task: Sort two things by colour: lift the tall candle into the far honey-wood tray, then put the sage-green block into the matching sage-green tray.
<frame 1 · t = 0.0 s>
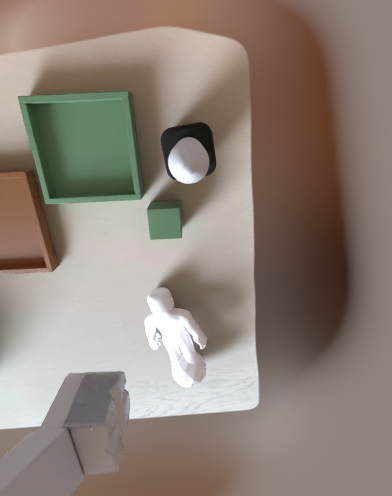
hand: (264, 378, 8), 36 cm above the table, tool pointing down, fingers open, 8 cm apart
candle: (189, 145, 40), on the table
figure: (177, 328, 52), on the table
green block: (166, 215, 43), on the table
green tray: (90, 150, 40), on the table
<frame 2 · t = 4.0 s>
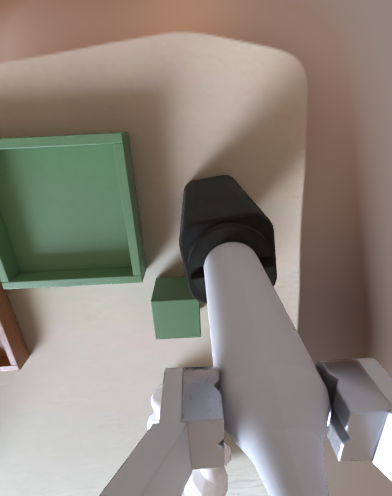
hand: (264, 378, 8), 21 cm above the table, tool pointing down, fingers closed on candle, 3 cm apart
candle: (212, 203, 27), on the table, touching gripper
figure: (189, 425, 40), on the table
green block: (178, 294, 31), on the table
green tray: (67, 211, 27), on the table
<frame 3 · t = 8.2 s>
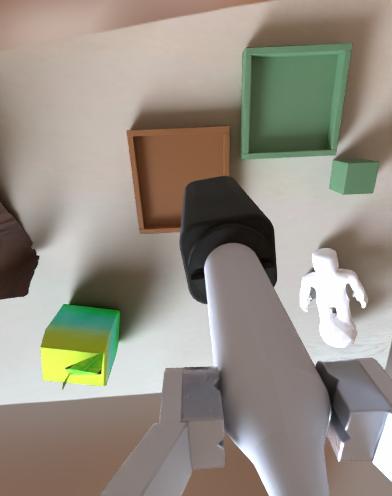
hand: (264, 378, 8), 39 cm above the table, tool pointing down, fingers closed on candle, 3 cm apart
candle: (212, 204, 27), point 18 cm above the table, touching gripper
wood tray: (181, 181, 45), on the table
figure: (325, 291, 54), on the table
low-poly cube fruit: (94, 323, 55), on the table
green block: (345, 173, 45), on the table
green tray: (288, 106, 41), on the table
when the fingers open (21 cm above the table, at t = 12.6 s): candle stays where it is, resting on wood tray.
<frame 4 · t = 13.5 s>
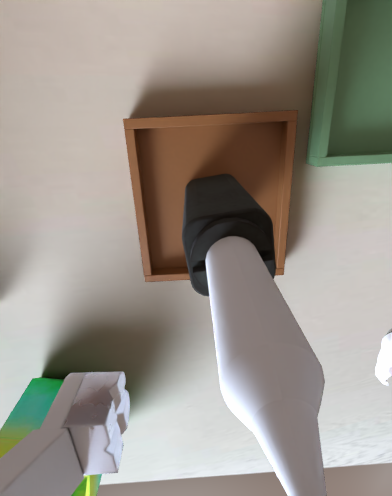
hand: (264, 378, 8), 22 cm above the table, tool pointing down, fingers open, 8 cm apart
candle: (212, 201, 28), resting on wood tray
wood tray: (211, 200, 28), on the table
low-poly cube fruit: (79, 398, 39), on the table
green tray: (391, 78, 24), on the table
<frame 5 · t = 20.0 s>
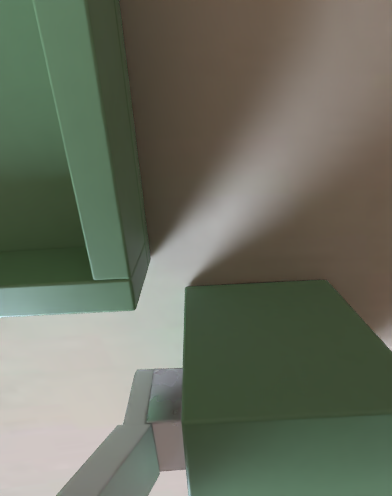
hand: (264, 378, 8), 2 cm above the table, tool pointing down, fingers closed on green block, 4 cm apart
green block: (253, 338, 10), on the table, touching gripper
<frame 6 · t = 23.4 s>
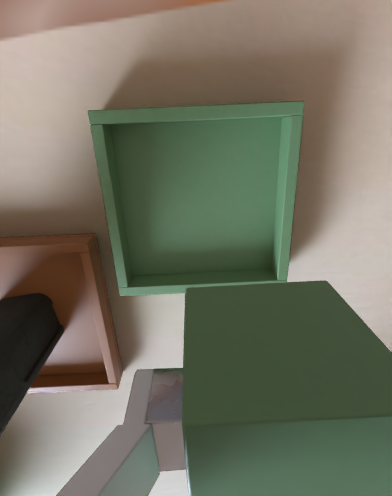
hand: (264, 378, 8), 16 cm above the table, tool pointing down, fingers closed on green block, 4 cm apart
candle: (32, 317, 26), resting on wood tray
wood tray: (33, 314, 26), on the table
green block: (253, 339, 10), point 14 cm above the table, touching gripper
green tray: (199, 202, 23), on the table
when the fingers open (2 cm above the table, at t = 27.0 s): green block stays where it is, resting on green tray.
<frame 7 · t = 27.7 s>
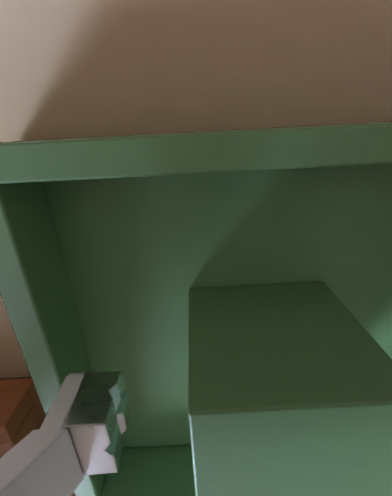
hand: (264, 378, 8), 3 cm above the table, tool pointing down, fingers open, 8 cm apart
green block: (254, 337, 10), point 1 cm above the table, touching green tray
green tray: (247, 322, 11), on the table
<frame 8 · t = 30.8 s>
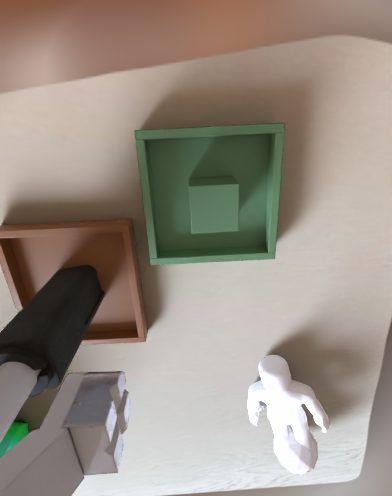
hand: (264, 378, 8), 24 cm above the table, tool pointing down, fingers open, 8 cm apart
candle: (81, 284, 34), resting on wood tray
wood tray: (81, 282, 34), on the table
figure: (280, 397, 43), on the table
green block: (211, 198, 30), point 1 cm above the table, touching green tray
green tray: (209, 195, 30), on the table
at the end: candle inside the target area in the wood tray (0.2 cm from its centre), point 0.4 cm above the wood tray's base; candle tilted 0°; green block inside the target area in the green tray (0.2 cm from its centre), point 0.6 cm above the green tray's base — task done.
